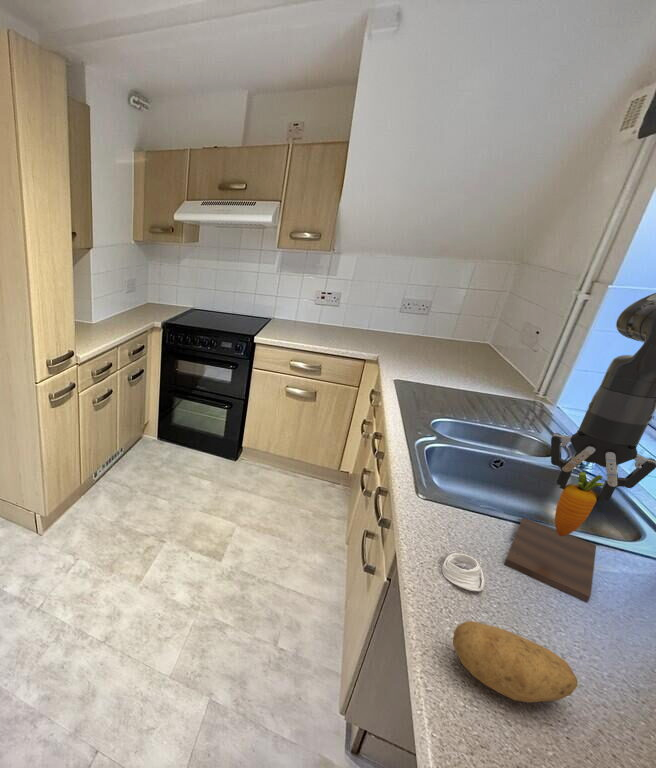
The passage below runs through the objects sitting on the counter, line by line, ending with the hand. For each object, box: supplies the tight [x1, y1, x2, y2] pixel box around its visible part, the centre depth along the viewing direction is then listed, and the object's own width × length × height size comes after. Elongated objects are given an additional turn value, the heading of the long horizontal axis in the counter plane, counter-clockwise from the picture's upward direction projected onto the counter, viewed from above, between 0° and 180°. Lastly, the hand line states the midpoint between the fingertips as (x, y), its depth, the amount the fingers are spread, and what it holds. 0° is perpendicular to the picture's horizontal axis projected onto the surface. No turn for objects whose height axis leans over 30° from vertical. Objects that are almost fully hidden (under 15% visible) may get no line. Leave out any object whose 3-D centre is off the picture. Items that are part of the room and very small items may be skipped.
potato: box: [452, 620, 579, 703], centre depth 60 cm, size 10×14×8 cm
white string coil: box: [441, 552, 485, 592], centre depth 79 cm, size 8×7×5 cm
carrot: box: [554, 471, 604, 536], centre depth 81 cm, size 5×5×15 cm
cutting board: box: [503, 516, 597, 603], centre depth 85 cm, size 20×12×2 cm, turn 132°
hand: (580, 493), depth 80 cm, fingers closed on carrot, 4 cm apart
